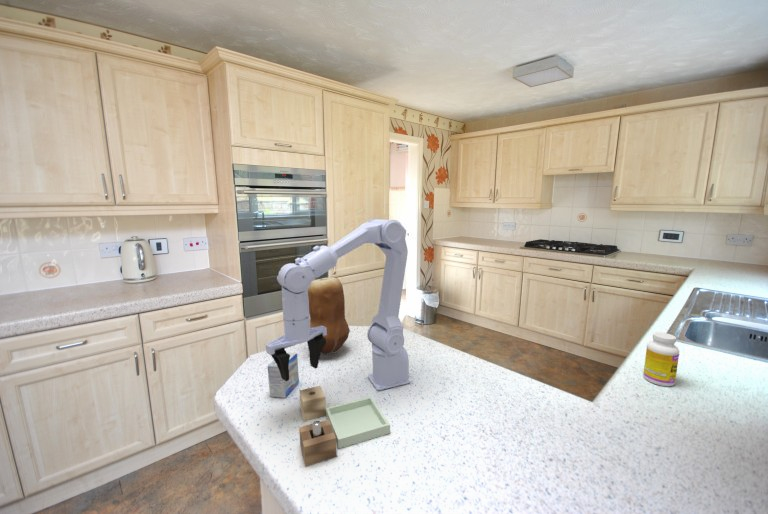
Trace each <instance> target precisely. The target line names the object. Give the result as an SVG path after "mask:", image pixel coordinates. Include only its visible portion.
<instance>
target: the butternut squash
mask: <svg viewBox="0 0 768 514" xmlns="http://www.w3.org/2000/svg"><path fill="white" fill-rule="evenodd" d="M308 298H309V315H310V328H314V327H319V326H324V327H326V330H327V335H325V336H323V337H324V338H326V344H325V345H324V347H323V349H322V352H321V354H324V355H333V354H336V353H337V352H338V351H339V350H341V348H342V347H343V345H344V344H345V342H346V341H347V340H348V338H349V335H350V332H351V330H350V326H349V325H348V324H349V323H348V322H347V320H346V311H345V310H346V309H345V308H346V306H345V294H344V288H343V285H342V281H340V279H339V278H337V277H331V276H330V277H329V276H328V277H323V278H316V279H315V280H313V281H312V282H311V285H310V287H309V288H308Z"/></svg>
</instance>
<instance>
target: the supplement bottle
mask: <svg viewBox="0 0 768 514" xmlns="http://www.w3.org/2000/svg"><path fill="white" fill-rule="evenodd" d="M676 342H677V337H676V336H675V335H673V334H672V333H671V334H670V333H667V332H662V331H661V332H660V331H656V332H653V333H652V340H651V341H648V343H647V344H646V348H645V349H646V350H645V351H646V352H645V358H644V366H643V373H642V374H643V375H642V376H643V377H644V379H645V380H646V381H648V382H650V383H652V384H655V385H657V386H661V387H672V386H674V385H675V383H676V379H677V372H678V365H679V357H680V349H679V348H678V347H677V346H676V345H675V344H676Z"/></svg>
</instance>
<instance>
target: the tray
mask: <svg viewBox="0 0 768 514" xmlns="http://www.w3.org/2000/svg"><path fill="white" fill-rule="evenodd" d="M325 417H326V420H329V422H330V424H331V427H332V429H333V432H334V434H335V437H336V447H337V448H338V449H343V448H346V447H348V446H352V445H355V444H359V443H361V442H365V441H368V440H369V441H370V440H372V439H375V438H379V437H382V436H386V435H389V434H391V424H390V422H389V420H387V417H386V416H385V415H384V413H383V412H382V410H381V409H380V407H379V405H378V404H377V403H376V401H375V399H374V398H373V396H369V397H364V398H360V399H357V400H352V401H349V402H348V401H347V402H344V403H340V404H336V405H332V406H328V407H326V416H325Z"/></svg>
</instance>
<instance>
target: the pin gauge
mask: <svg viewBox="0 0 768 514" xmlns="http://www.w3.org/2000/svg"><path fill="white" fill-rule="evenodd" d="M311 424H312V425H313V438H316V437H319V436H321V421H320V420H314V421H313V422H312V423H311Z"/></svg>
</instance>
